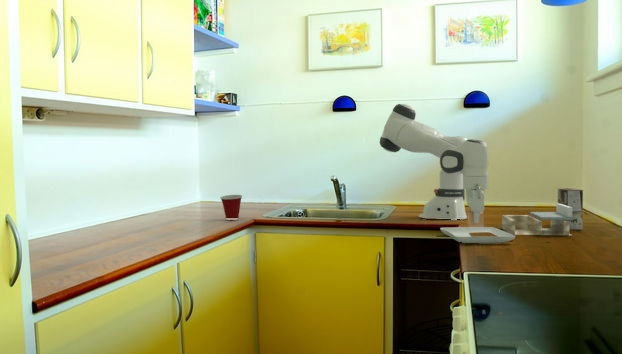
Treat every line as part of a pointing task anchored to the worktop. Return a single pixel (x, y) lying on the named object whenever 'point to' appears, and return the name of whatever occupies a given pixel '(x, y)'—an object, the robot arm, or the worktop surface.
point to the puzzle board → (533, 226)
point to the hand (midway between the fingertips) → (475, 221)
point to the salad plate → (465, 237)
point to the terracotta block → (471, 220)
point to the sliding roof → (555, 213)
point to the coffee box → (573, 205)
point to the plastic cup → (231, 205)
